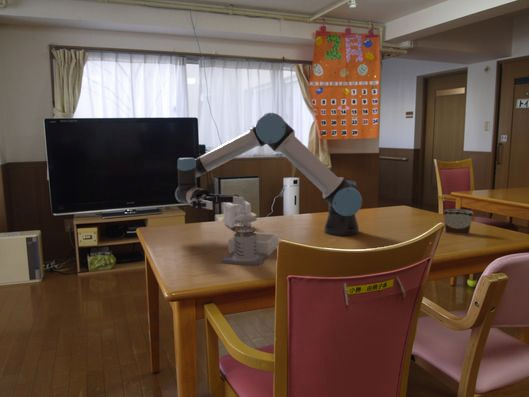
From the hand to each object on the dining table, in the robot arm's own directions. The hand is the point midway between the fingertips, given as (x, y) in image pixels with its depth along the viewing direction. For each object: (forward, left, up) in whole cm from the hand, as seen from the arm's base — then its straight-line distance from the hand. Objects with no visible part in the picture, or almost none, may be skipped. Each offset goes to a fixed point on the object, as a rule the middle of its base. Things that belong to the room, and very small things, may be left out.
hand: (228, 203), depth 154 cm
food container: (-84, -59, -19) cm, 105 cm away
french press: (-8, +6, -18) cm, 20 cm away
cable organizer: (+15, -46, -19) cm, 52 cm away
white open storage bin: (-7, -7, -19) cm, 21 cm away
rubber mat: (-8, +6, -19) cm, 21 cm away
